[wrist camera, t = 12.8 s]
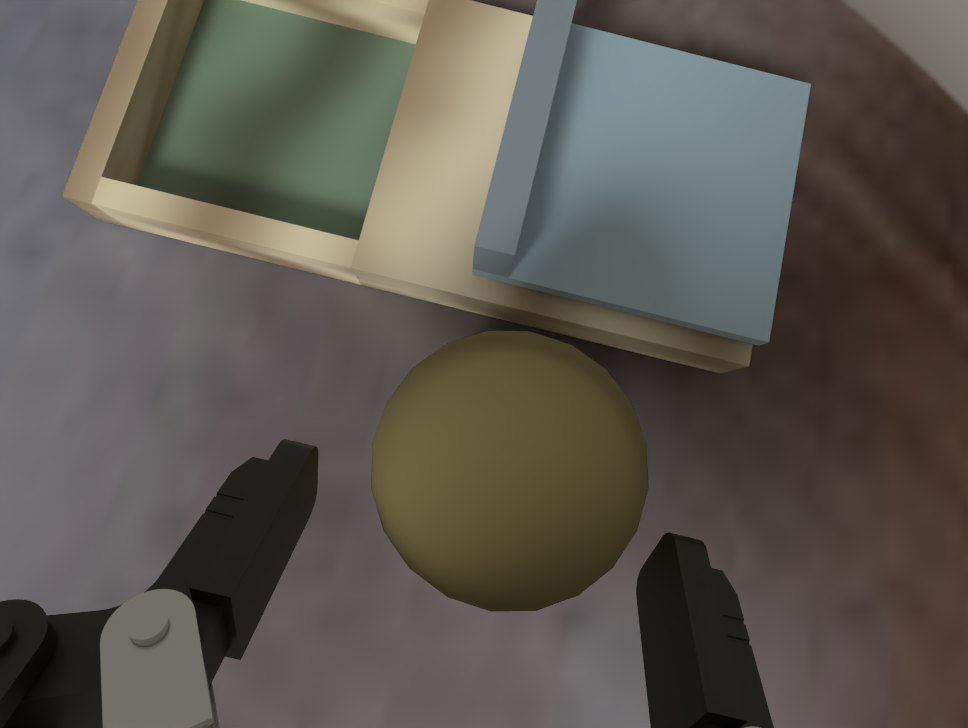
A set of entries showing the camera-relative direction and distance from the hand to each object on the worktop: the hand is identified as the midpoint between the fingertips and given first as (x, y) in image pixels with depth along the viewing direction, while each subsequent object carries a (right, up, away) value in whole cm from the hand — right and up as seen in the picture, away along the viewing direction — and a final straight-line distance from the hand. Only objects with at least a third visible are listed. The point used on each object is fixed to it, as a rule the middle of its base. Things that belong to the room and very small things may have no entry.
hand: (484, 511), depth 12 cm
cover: (+6, +10, +7) cm, 13 cm away
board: (-1, +11, +9) cm, 14 cm away
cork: (0, 0, +7) cm, 8 cm away
